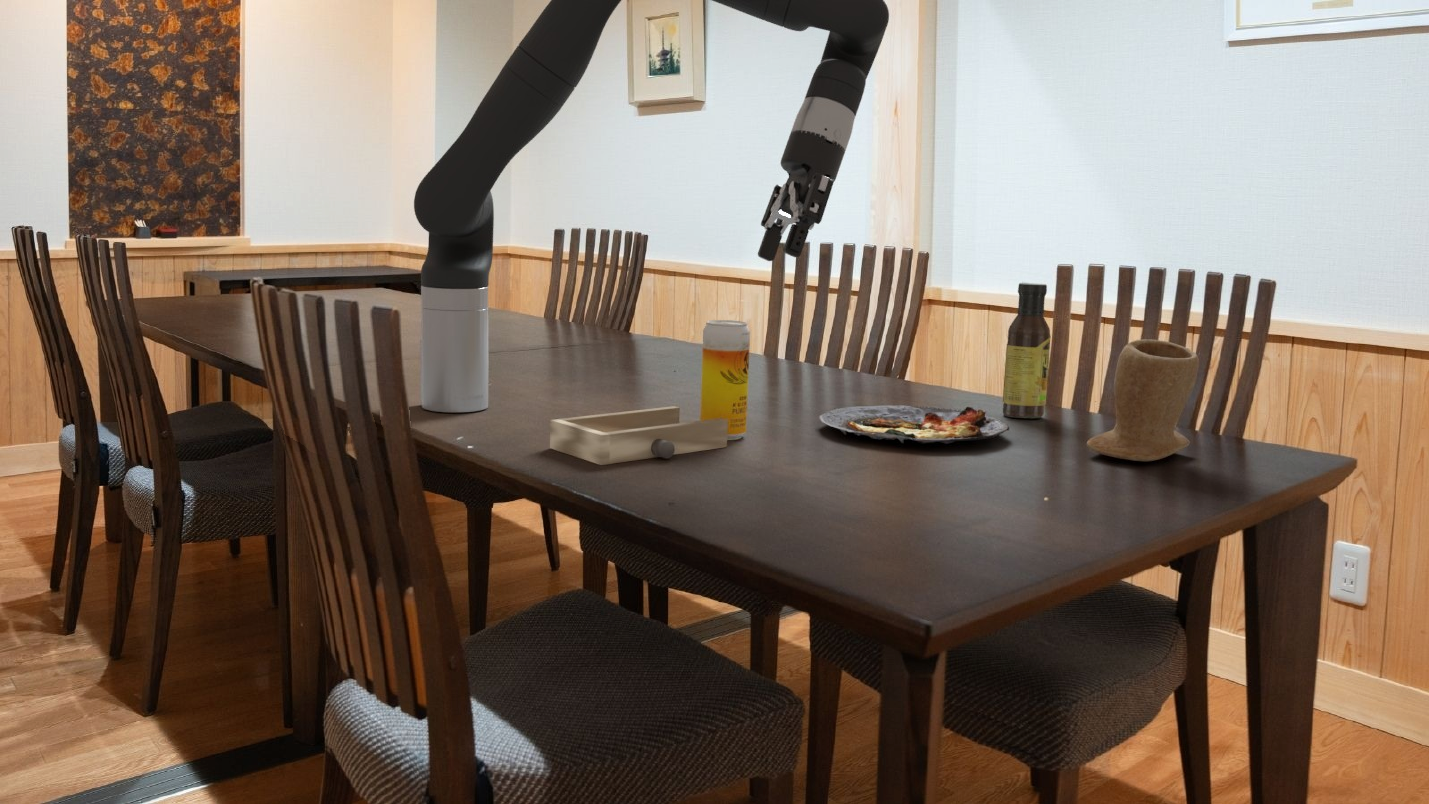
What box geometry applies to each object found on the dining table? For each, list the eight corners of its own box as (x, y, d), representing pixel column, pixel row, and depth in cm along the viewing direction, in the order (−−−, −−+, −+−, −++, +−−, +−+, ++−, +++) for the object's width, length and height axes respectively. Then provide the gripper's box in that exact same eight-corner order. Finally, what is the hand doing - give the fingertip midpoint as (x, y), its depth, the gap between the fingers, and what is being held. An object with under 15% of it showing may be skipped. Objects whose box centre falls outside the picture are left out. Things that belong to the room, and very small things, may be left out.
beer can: (741, 442, 155) (746, 326, 152) (695, 439, 156) (698, 323, 154) (749, 433, 161) (754, 321, 158) (704, 430, 162) (708, 318, 159)
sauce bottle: (1048, 421, 178) (1059, 285, 174) (1005, 419, 178) (1015, 284, 175) (1039, 413, 184) (1050, 282, 181) (998, 411, 184) (1008, 280, 181)
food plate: (1023, 429, 170) (1024, 404, 170) (986, 462, 149) (987, 434, 149) (853, 415, 181) (854, 391, 180) (797, 443, 160) (797, 417, 159)
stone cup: (1165, 474, 146) (1178, 350, 143) (1073, 457, 154) (1084, 339, 151) (1213, 457, 157) (1225, 342, 154) (1125, 441, 165) (1135, 332, 162)
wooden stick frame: (541, 445, 149) (541, 417, 148) (663, 429, 161) (664, 403, 161) (611, 468, 138) (611, 438, 137) (737, 449, 150) (738, 422, 150)
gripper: (772, 137, 162) (732, 250, 161) (817, 119, 149) (773, 241, 148) (819, 160, 165) (780, 271, 164) (867, 144, 152) (826, 264, 150)
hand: (777, 257), depth 156 cm, fingers open, 8 cm apart
